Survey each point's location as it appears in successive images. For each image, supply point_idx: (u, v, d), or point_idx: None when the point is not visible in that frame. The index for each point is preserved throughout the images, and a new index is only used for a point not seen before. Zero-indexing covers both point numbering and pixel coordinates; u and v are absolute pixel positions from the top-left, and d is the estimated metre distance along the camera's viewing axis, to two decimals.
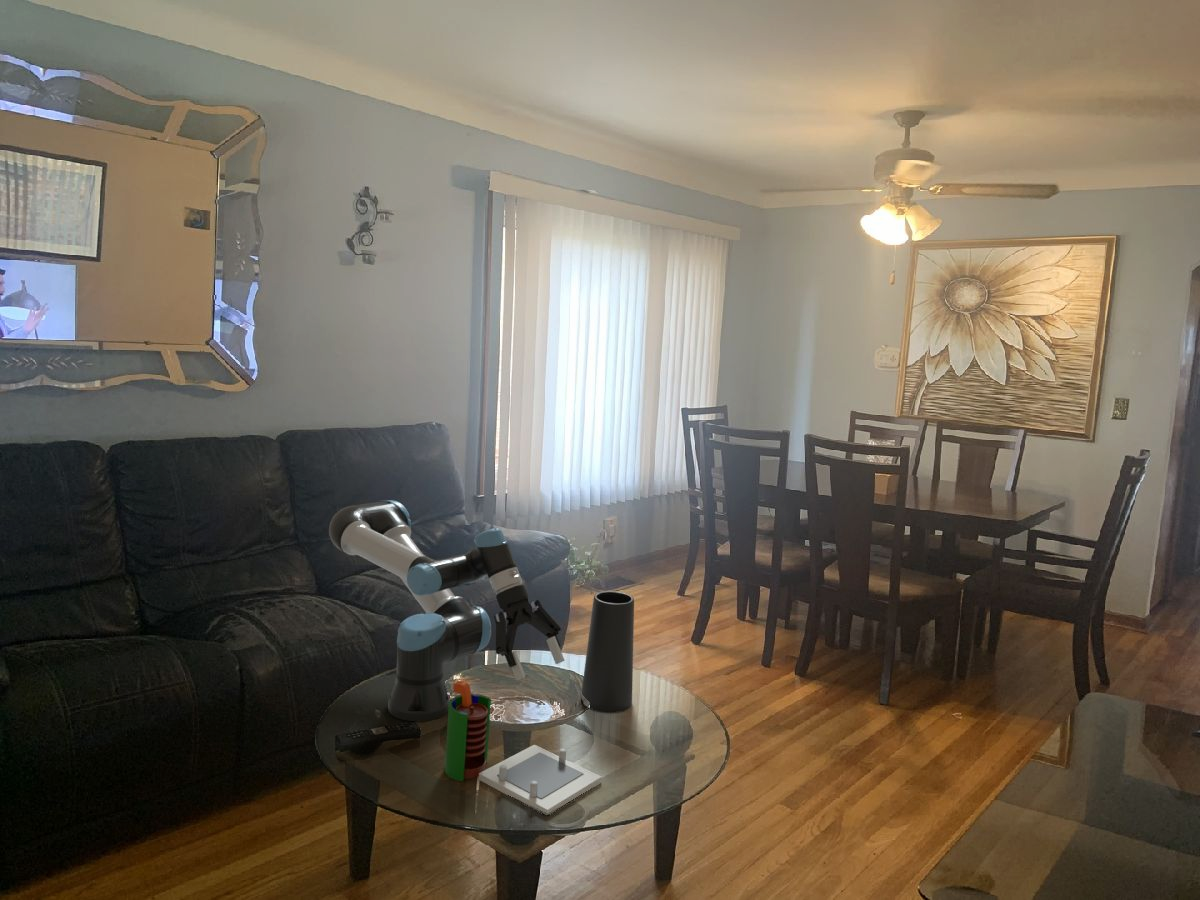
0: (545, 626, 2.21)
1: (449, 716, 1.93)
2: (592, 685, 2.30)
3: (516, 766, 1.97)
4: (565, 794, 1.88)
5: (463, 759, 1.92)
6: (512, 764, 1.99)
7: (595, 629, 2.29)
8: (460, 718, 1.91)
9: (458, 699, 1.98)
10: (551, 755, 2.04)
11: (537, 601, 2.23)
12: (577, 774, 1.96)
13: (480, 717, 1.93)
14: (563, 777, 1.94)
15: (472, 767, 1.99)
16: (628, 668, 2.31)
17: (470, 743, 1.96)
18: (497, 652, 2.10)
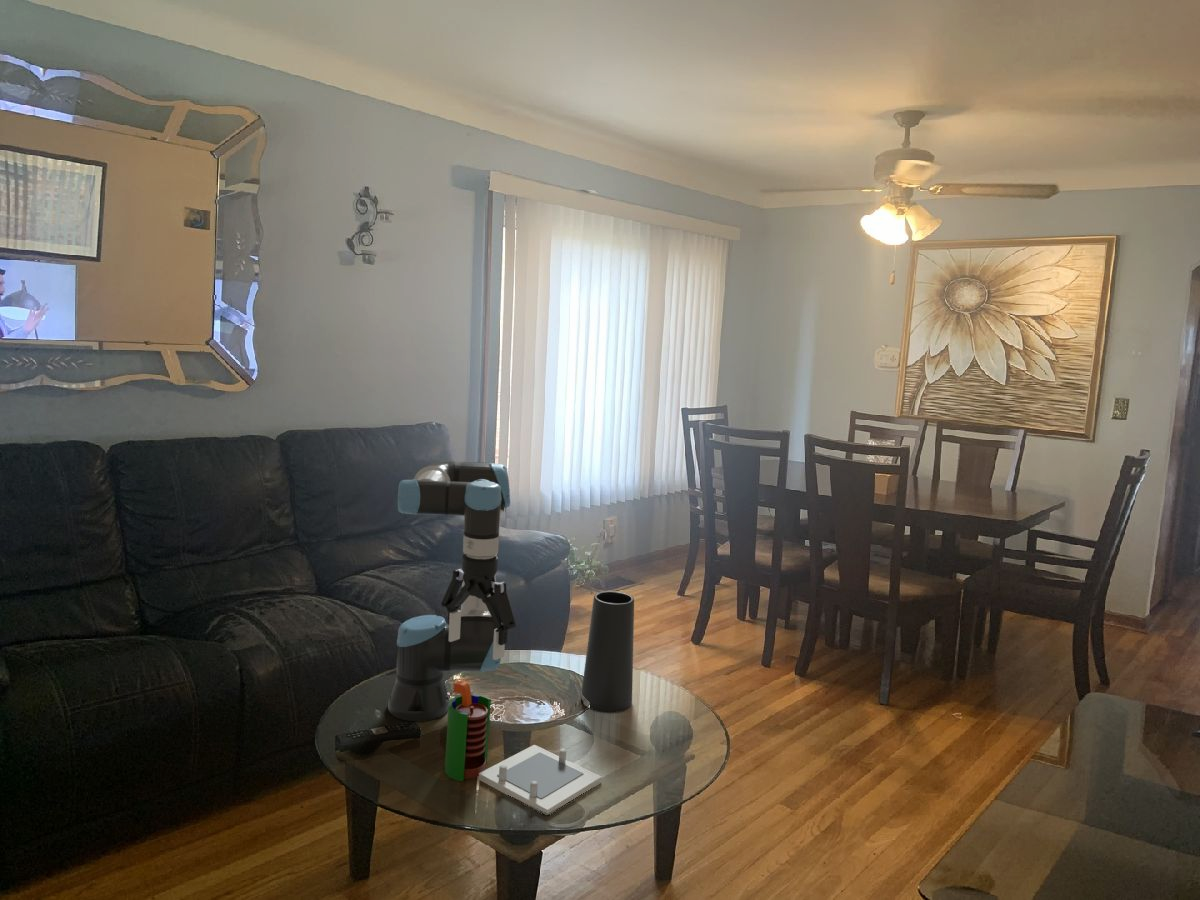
0: (492, 615, 1.87)
1: (449, 716, 1.93)
2: (592, 685, 2.30)
3: (516, 766, 1.97)
4: (565, 794, 1.88)
5: (463, 759, 1.92)
6: (512, 764, 1.99)
7: (595, 629, 2.29)
8: (460, 718, 1.91)
9: (458, 699, 1.98)
10: (551, 755, 2.04)
11: (495, 586, 1.85)
12: (577, 774, 1.96)
13: (480, 717, 1.93)
14: (563, 777, 1.94)
15: (472, 767, 1.99)
16: (628, 668, 2.31)
17: (470, 743, 1.96)
18: None
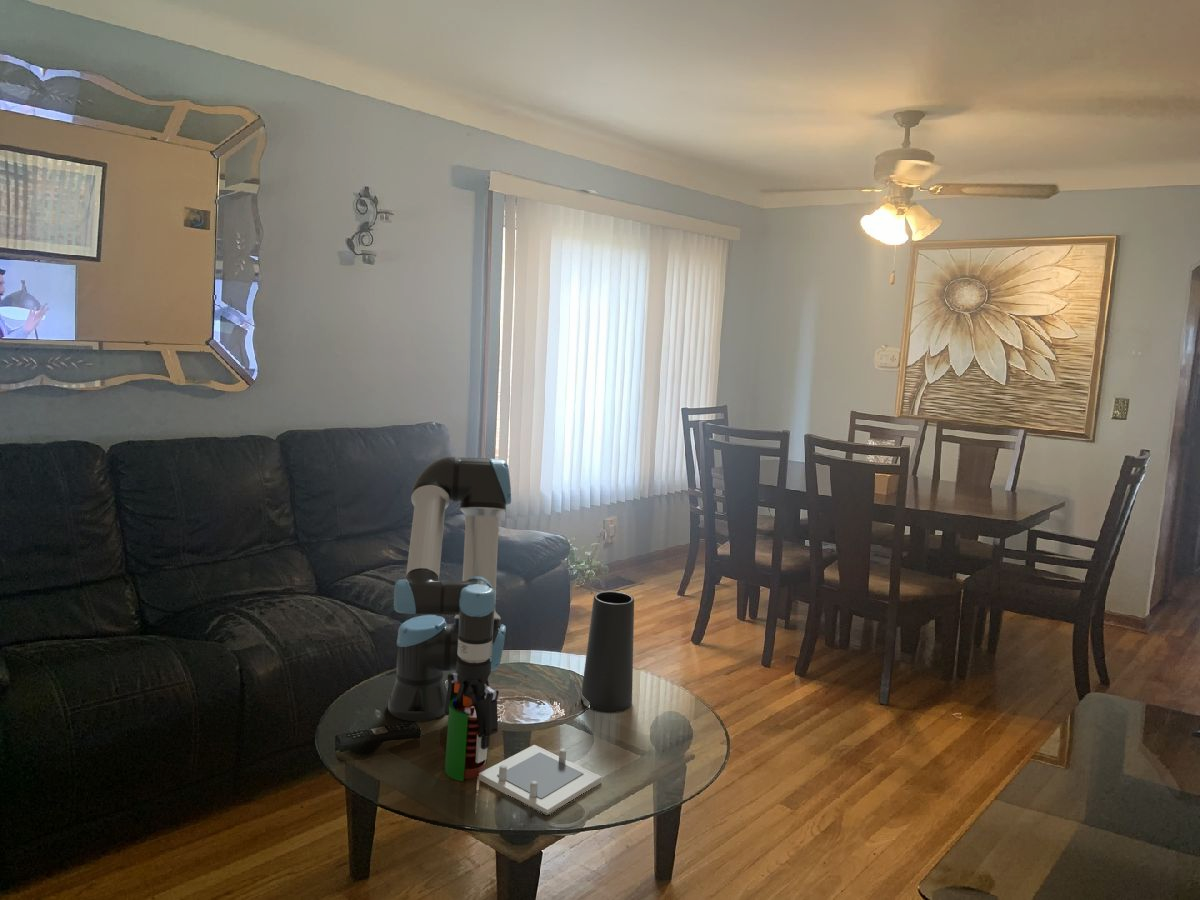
0: (478, 718, 1.92)
1: (450, 716, 1.93)
2: (592, 685, 2.30)
3: (516, 766, 1.97)
4: (565, 794, 1.88)
5: (463, 759, 1.92)
6: (512, 764, 1.99)
7: (595, 629, 2.29)
8: (461, 718, 1.91)
9: None
10: (551, 755, 2.04)
11: (488, 694, 1.89)
12: (577, 774, 1.96)
13: None
14: (563, 777, 1.94)
15: (472, 767, 1.99)
16: (628, 668, 2.31)
17: (470, 743, 1.96)
18: None
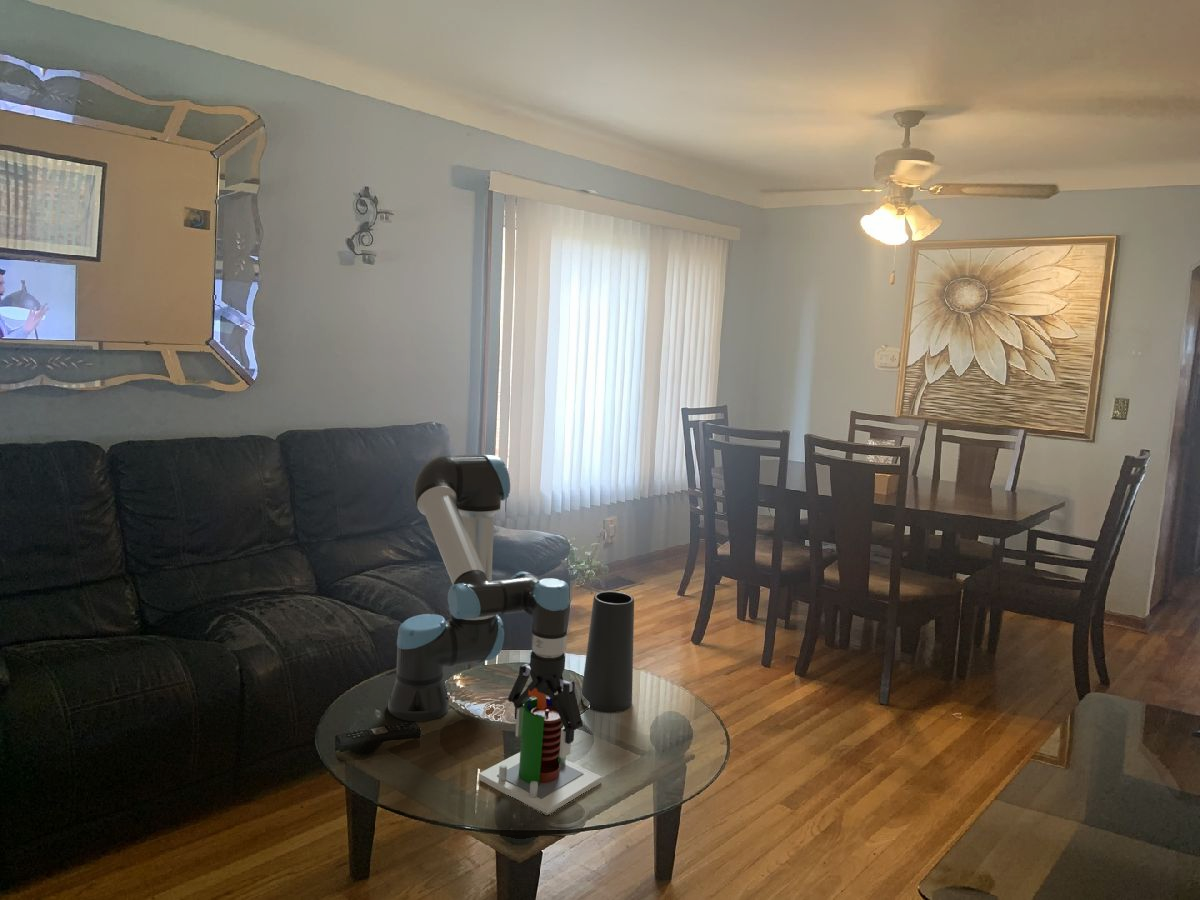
0: (559, 713, 1.88)
1: (525, 719, 1.91)
2: (592, 685, 2.30)
3: (516, 766, 1.97)
4: (565, 794, 1.88)
5: (539, 763, 1.89)
6: (512, 764, 1.99)
7: (595, 629, 2.29)
8: (537, 721, 1.88)
9: (532, 702, 1.95)
10: None
11: (564, 685, 1.86)
12: (577, 774, 1.96)
13: (556, 720, 1.90)
14: (563, 777, 1.94)
15: (546, 771, 1.96)
16: (628, 668, 2.31)
17: (545, 747, 1.93)
18: None
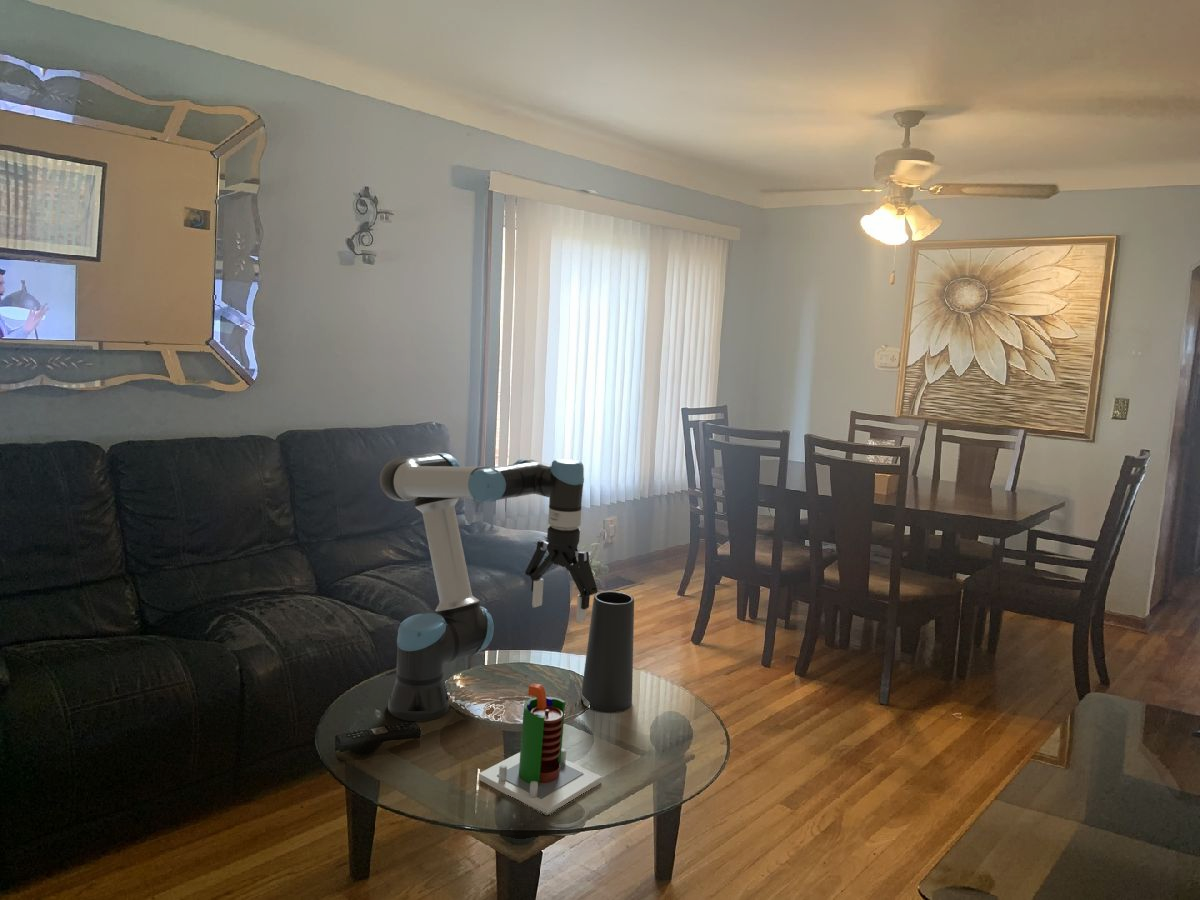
0: (575, 581, 2.03)
1: (525, 719, 1.91)
2: (592, 685, 2.30)
3: (516, 766, 1.97)
4: (565, 794, 1.88)
5: (539, 763, 1.89)
6: (512, 764, 1.99)
7: (595, 629, 2.29)
8: (537, 721, 1.88)
9: (532, 702, 1.95)
10: None
11: (579, 554, 2.02)
12: (577, 774, 1.96)
13: (556, 720, 1.90)
14: (563, 777, 1.94)
15: (546, 771, 1.96)
16: (628, 668, 2.31)
17: (545, 747, 1.93)
18: None
